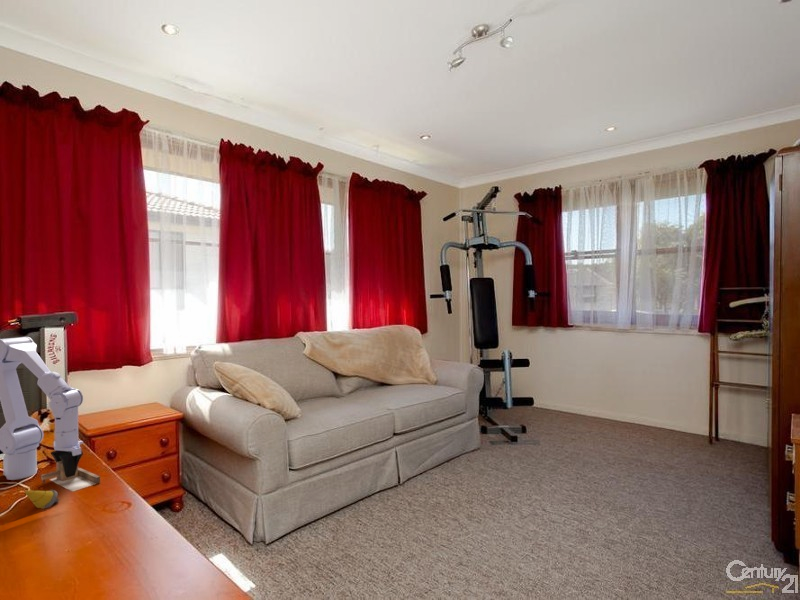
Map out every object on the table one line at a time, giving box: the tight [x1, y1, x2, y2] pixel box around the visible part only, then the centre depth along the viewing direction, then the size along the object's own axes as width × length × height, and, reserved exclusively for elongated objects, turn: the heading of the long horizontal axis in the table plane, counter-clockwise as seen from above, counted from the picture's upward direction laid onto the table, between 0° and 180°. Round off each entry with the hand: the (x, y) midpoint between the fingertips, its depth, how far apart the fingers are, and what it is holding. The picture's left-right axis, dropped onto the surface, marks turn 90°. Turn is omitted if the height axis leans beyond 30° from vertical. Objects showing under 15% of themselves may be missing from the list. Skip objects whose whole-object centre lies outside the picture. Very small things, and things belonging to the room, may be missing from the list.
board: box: [49, 466, 101, 493], centre depth 130 cm, size 16×7×3 cm, turn 57°
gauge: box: [40, 461, 79, 483], centre depth 131 cm, size 4×8×5 cm, turn 147°
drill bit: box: [23, 489, 61, 512], centre depth 114 cm, size 5×5×10 cm
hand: (67, 474), depth 133 cm, fingers closed on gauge, 4 cm apart
